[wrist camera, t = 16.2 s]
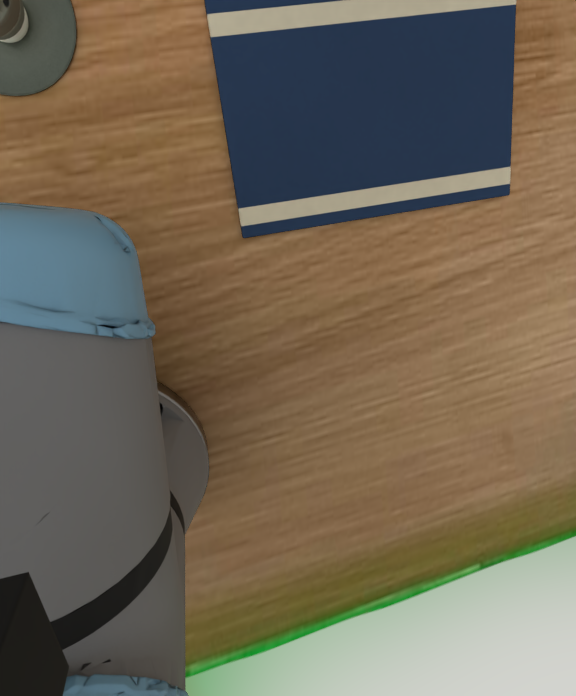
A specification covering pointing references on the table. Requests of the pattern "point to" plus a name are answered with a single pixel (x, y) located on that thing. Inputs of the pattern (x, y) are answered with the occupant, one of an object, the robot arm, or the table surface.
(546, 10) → the table surface
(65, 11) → the coffee cup
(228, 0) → the towel
